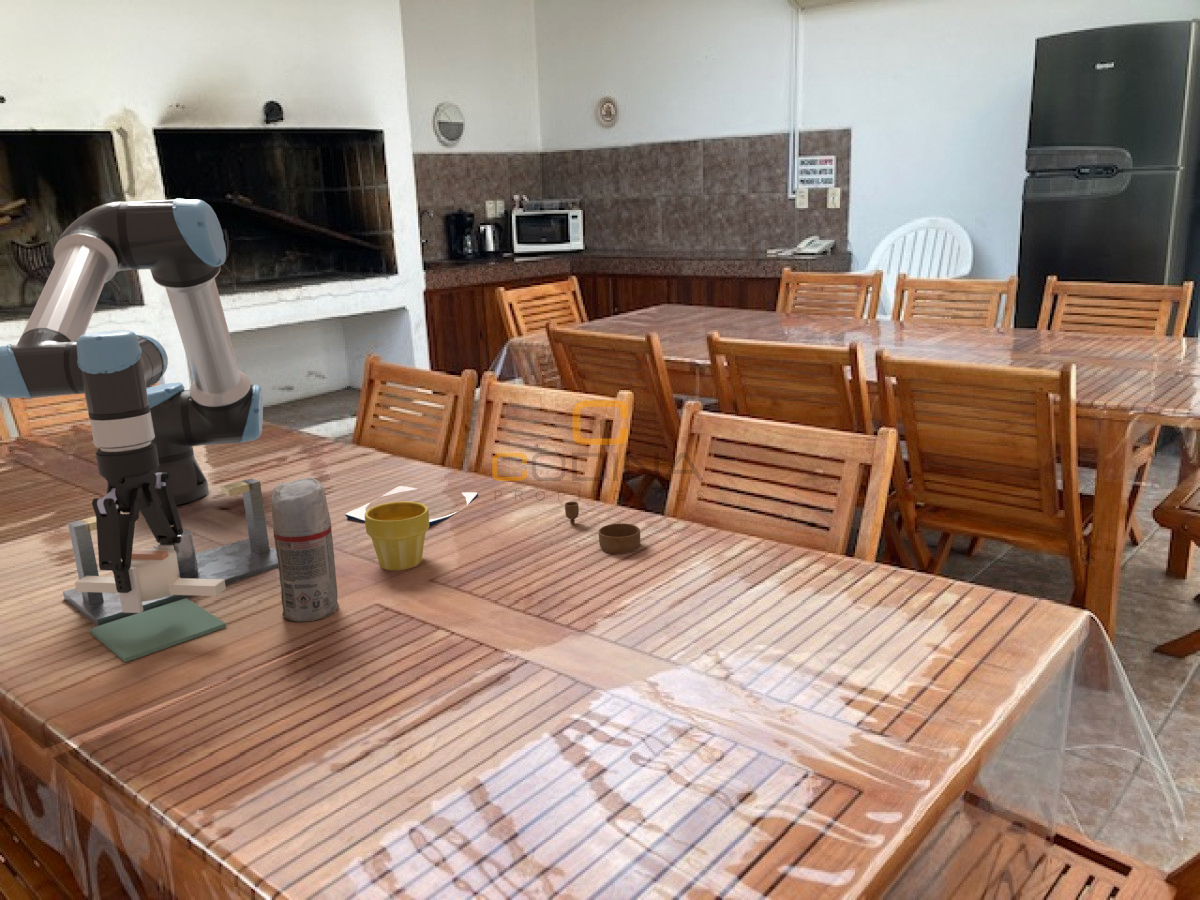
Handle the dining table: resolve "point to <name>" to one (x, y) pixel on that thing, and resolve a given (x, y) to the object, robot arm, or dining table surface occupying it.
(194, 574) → the grey frame
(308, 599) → the spray can
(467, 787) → the dining table surface
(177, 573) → the cream crossbar with hub
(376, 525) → the plant pot
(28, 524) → the dining table surface
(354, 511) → the plate
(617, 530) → the place setting
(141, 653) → the mat
